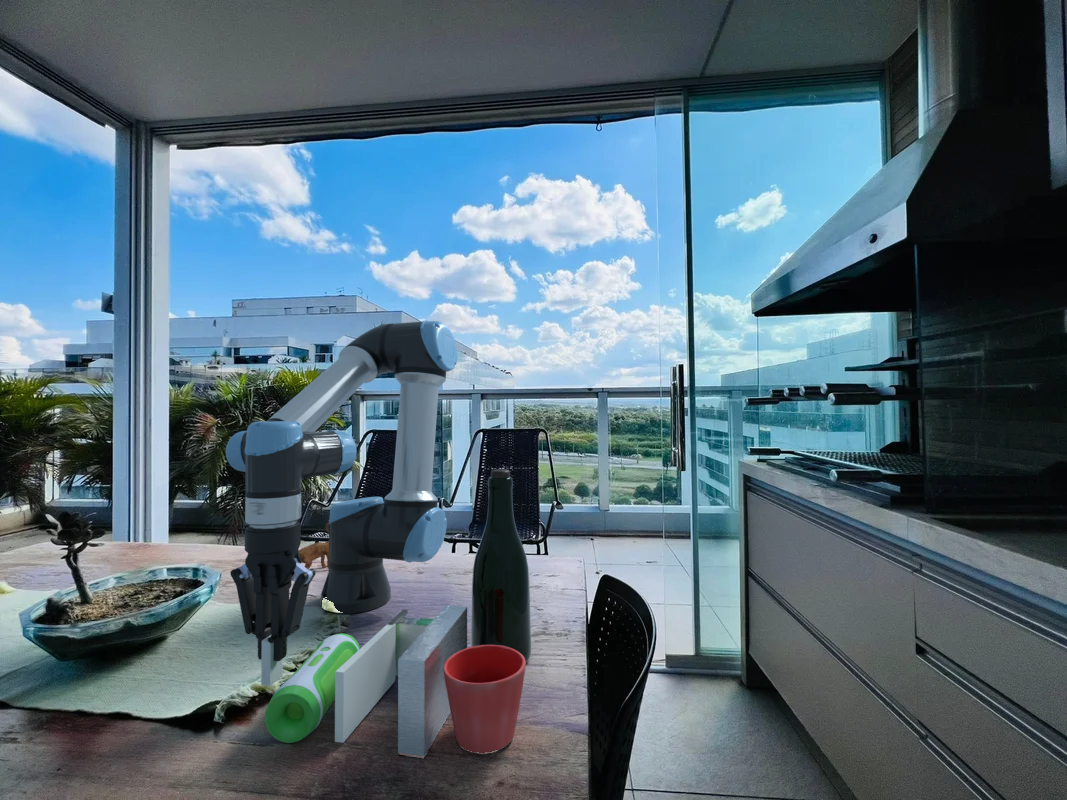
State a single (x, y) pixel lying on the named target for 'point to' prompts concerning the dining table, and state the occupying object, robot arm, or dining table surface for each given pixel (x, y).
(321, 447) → the robot arm
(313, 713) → the speaker
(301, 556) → the cat figurine
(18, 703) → the dining table surface
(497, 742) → the flower pot
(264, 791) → the dining table surface
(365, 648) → the plate
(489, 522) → the beer bottle
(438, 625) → the frame
